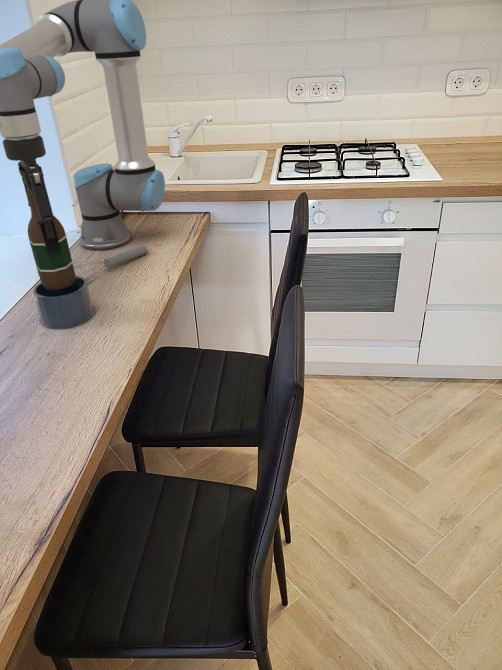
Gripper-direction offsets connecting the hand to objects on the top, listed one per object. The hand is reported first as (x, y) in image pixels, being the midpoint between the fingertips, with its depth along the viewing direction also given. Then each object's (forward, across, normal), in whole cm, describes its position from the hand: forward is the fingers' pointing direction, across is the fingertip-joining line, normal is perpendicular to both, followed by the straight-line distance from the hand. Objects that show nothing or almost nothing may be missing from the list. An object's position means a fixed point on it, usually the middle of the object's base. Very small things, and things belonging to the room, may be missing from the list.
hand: (49, 245), depth 115 cm
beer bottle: (+9, 0, 0) cm, 9 cm away
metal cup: (+18, 0, 0) cm, 18 cm away
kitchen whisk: (+18, -21, +15) cm, 31 cm away
